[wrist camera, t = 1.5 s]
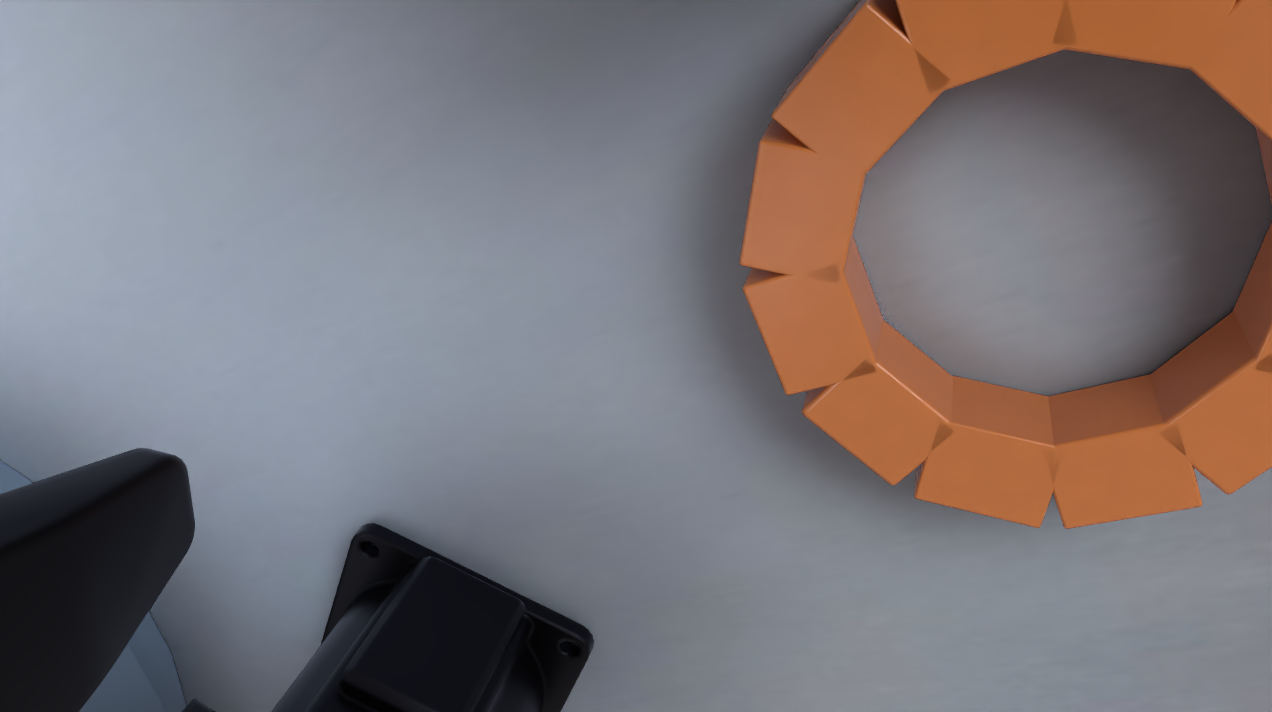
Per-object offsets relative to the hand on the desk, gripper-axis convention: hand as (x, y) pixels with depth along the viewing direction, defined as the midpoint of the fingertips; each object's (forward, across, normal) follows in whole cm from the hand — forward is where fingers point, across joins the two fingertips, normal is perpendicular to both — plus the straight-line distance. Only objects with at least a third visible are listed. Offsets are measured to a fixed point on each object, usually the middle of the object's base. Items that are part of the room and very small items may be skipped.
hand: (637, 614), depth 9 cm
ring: (+12, -4, 0) cm, 13 cm away
